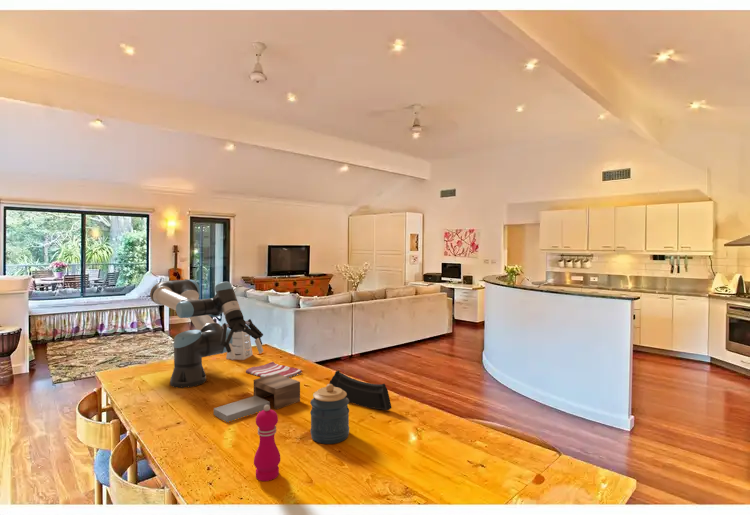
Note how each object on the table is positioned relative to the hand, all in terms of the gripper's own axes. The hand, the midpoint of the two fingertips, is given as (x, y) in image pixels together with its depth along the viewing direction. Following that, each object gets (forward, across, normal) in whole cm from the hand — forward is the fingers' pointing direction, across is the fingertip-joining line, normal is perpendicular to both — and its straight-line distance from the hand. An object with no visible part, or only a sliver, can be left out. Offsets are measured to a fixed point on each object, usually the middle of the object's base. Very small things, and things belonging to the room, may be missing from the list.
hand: (248, 355), depth 186 cm
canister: (+47, -5, -39) cm, 61 cm away
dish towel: (+6, +22, +19) cm, 30 cm away
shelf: (+24, +1, -6) cm, 24 cm away
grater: (-17, +26, +50) cm, 59 cm away
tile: (+24, -14, -6) cm, 29 cm away
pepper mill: (+50, -33, -43) cm, 74 cm away
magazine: (+40, +22, -28) cm, 53 cm away
